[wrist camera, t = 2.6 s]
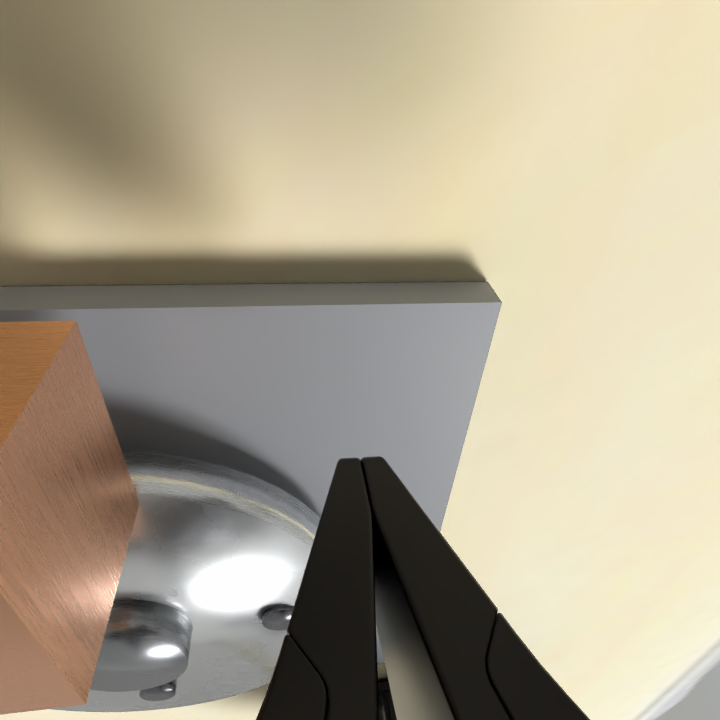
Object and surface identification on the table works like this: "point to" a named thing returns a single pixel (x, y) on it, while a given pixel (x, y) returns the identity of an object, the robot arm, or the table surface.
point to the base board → (286, 374)
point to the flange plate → (128, 551)
